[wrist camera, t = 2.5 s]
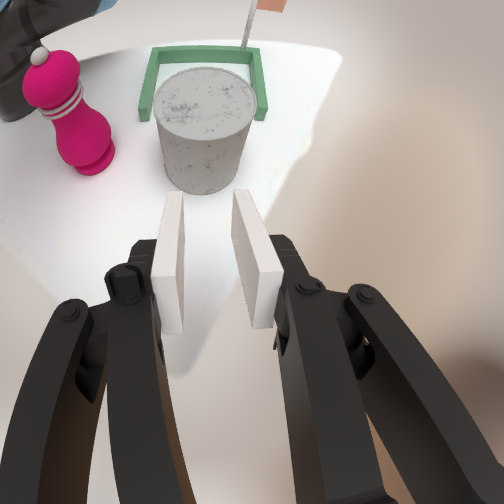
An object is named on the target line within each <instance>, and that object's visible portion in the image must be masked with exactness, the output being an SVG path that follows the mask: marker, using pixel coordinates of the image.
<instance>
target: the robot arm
mask: <svg viewBox="0 0 504 504" xmlns="http://www.w3.org/2000/svg"><path fill="white" fill-rule="evenodd" d="M116 2H117V0H0V117H1V119H2V120H4V121H14V120H17V119H20V118H22V117H24V116H25V115H27V114H29V113H30V112H32V111H33V110H34V109H36V108H37V107H33V106H32V105H30V104H29V103H28V102H27V101H26V99H25V97H24V94H23V90H22V84H23V80H24V76H25V74H26V72H27V71H28V69H29V68H30V66H31V65H32V63H31V55H32V53H33V52H34V51H35V50H36V49H37V48H39V47H44V46H43V45H42V43H41V41H40V39H41V38H43V37H45V36H47V35H49V34H51V33H53V32H55V31H57V30H60V29H62V28H64V27H66V26H69V25H71V24H73V23H75V22H78V21H81V20H83V19H86V18H88V17H91V16H95V15H96V14H97V13H100V12H102V11H105V10H107V9H109V8H111V7H113V6H114V5H115V3H116ZM48 51H49V50H48ZM49 52H50V51H49ZM231 237H232V242H233V246H234V251H235V255H236V260H237V264H238V269H239V273H240V278H241V282H242V286H243V290H244V295H245V299H246V304H247V308H248V312H249V316H250V321H251V325H252V329H264V328H273V323H274V318H275V321H276V324H277V327H278V328H277V333H276V337H275V341H274V346H273V350H276V347H277V350H278V357H279V365H280V372H281V379H282V388H283V395H284V402H285V411H286V419H287V426H288V434H289V443H290V451H291V460H292V467H293V477H294V485H295V494H296V503H297V504H398V503H397V501H396V500H395V499H393V498H392V497H390V496H389V495H387V493H386V492H385V489H384V486H383V482H382V477H381V472H380V468H379V463H378V459H377V455H376V451H375V447H374V443H373V439H372V435H371V431H370V427H369V424H368V420H367V416H366V413H367V415H368V417H369V418H370V420H371V422H372V424H373V425H374V427H375V429H376V431H377V433H378V435H379V436H380V438H381V440H382V442H383V444H384V446H385V447H386V449H387V451H388V453H389V455H390V457H391V458H392V460H393V462H394V464H395V466H396V468H397V470H398V471H399V473H400V475H401V477H402V479H403V481H404V483H405V485H406V487H407V488H408V490H409V492H410V494H411V496H412V498H413V499H414V501H415V503H416V504H504V467H503V466H502V465H501V464H499V463H498V462H497V460H496V458H495V456H494V454H493V453H492V451H491V449H490V447H489V445H488V444H487V442H486V440H485V438H484V437H483V435H482V433H481V432H480V430H479V429H478V427H477V425H476V423H475V422H474V420H473V419H472V417H471V416H470V414H469V412H468V411H467V409H466V408H465V406H464V404H463V403H462V402H461V400H460V398H459V397H458V395H457V394H456V392H455V391H454V390H453V388H452V387H451V385H450V384H449V383H448V381H447V379H446V378H445V376H444V375H443V373H442V372H441V371H440V369H439V368H438V366H437V365H436V364H435V362H434V361H433V360H432V358H431V357H430V356H429V354H428V353H427V352H426V350H425V349H424V347H423V346H422V345H421V343H420V342H419V341H418V339H417V338H416V337H415V336H414V334H413V333H412V332H411V331H410V329H409V328H408V327H407V325H406V324H405V323H404V322H403V320H402V319H401V318H400V316H399V315H398V314H397V313H396V312H395V310H394V309H393V308H392V307H391V305H390V304H389V303H388V302H387V301H386V299H385V298H384V297H383V296H382V295H381V293H380V292H379V291H378V290H376V289H375V288H373V287H371V286H369V285H366V284H355V285H352V286H351V287H350V289H349V290H348V293H341V292H335V291H330V290H326V288H325V286H324V285H323V283H322V282H320V281H319V280H318V279H316V278H314V277H312V276H310V275H309V273H308V271H307V269H306V267H305V265H304V264H303V262H302V260H301V258H300V256H299V254H298V252H297V251H296V250H295V247H294V245H293V243H292V241H291V240H290V239H288V238H287V237H286V236H285V235H268V233H267V230H266V228H265V226H264V224H263V221H262V219H261V217H260V214H259V212H258V210H257V208H256V205H255V203H254V201H253V199H252V196H251V194H250V192H249V190H248V189H234V190H233V208H232V228H231ZM184 245H185V231H184V209H183V190H178V191H168V192H167V197H166V201H165V205H164V210H163V214H162V219H161V223H160V228H159V233H158V238H157V239H151V240H138V241H137V242H136V243H135V245H134V246H133V247H132V249H131V252H130V257H129V259H128V263H123V264H118V265H116V266H115V267H113V268H111V269H110V270H109V271H108V272H107V273H106V275H105V278H104V280H105V283H106V286H107V289H108V293H109V296H110V299H111V300H109V301H108V302H106V303H103V304H100V305H96V306H92V307H88V305H87V304H86V303H85V302H84V301H83V300H80V299H69V300H67V301H64V302H63V303H61V304H60V305H59V306H58V307H57V308H56V310H55V311H54V313H53V315H52V317H51V318H50V321H49V323H48V325H47V327H46V329H45V331H44V333H43V335H42V337H41V340H40V341H39V344H38V346H37V349H36V351H35V353H34V355H33V358H32V360H31V362H30V365H29V368H28V370H27V373H26V375H25V378H24V380H23V383H22V386H21V388H20V391H19V394H18V397H17V400H16V403H15V406H14V410H13V413H12V416H11V420H10V424H9V427H8V431H7V435H6V439H5V443H4V448H3V452H2V458H1V463H0V504H87V493H88V483H89V474H90V466H91V459H92V452H93V446H94V440H95V434H96V429H97V423H98V418H99V413H100V409H101V404H102V400H103V395H104V391H105V386H106V383H107V404H108V422H109V434H110V444H111V453H112V460H113V468H114V474H115V480H116V486H117V491H118V496H119V501H120V504H196V500H195V497H194V494H193V491H192V487H191V484H190V480H189V477H188V473H187V469H186V465H185V462H184V458H183V453H182V450H181V445H180V441H179V436H178V432H177V428H176V423H175V418H174V413H173V408H172V402H171V397H170V391H169V385H168V379H167V372H166V365H165V358H164V351H163V344H162V340H161V328H162V333H163V334H183V278H184ZM365 338H366V339H367V341H368V342H369V343H368V342H367V341H366V340H365ZM365 411H366V412H365Z"/></svg>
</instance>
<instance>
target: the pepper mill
mask: <svg viewBox="0 0 504 504" xmlns="http://www.w3.org/2000/svg"><path fill="white" fill-rule="evenodd" d="M31 63H32V65H31V66H30V68H29V69H28V71H27V72H26V74H25V76H24V80H23V84H22V90H23V94H24V97H25V99H26V101H27V102H28V103H29V104H30V105H32V106H33V107H38V108H39V111H40V112H41V113H42V115H43V117H44V118H46V119H49V120H51V121H52V122H53V124H54V126H55V129H56V142H57V148H58V151H59V154H60V155H61V157H62V158H63V160H64V161H65V162H66V163H68V164H69V165H72V166H74V167H75V169H76V170H77V171H78V172H79V173H81V174H83V175H94V174H97V173H99V172H101V171H102V170H104V169H105V168H106V167H107V166H108V165H109V164H110V162H111V161H112V159H113V156H114V152H115V147H114V144H113V141H112V139H111V128H110V125H109V124H108V122H107V120H106V118H105V117H104V116H103V115H102V114H100V113H99V112H97V111H96V110H94V109H92V108H91V107H89V106H88V105H87V104H86V103H85V101H84V100H83V98H82V96H83V87H82V85H81V82H80V80H79V79H78V78H79V74H80V67H79V63H78V61H77V59H76V58H75V57H74V55H72V54H71V53H70V52H67V51H64V50H57V51H52V52H49V51H48V49H46V48H45V47H39V48H37V49H36V50H35V51H34V52H33V53H32V55H31Z"/></svg>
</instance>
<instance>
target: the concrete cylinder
mask: <svg viewBox="0 0 504 504" xmlns="http://www.w3.org/2000/svg"><path fill="white" fill-rule="evenodd" d="M256 108H257V100H256V95H255V93H254V91H253V88H252V87H251V86H250V85H249V84H248V82H247V81H245V80H244V79H243V78H242V77H240V76H239V75H237V74H235V73H233V72H231V71H228V70H225V69H222V68H215V67H196V68H190V69H187V70H184V71H181V72H178V73H177V74H175V75H173V76H171V77H170V78H168V79H167V80H166V81H164V82H163V84H162V85H161V86H160V87H159V88H158V90H157V92H156V94H155V96H154V100H153V111H154V116H155V118H156V122H157V127H158V133H159V138H160V143H161V148H162V153H163V158H164V162H165V165H164V166H165V170H166V174H167V176H168V178H169V180H170V181H171V182H172V183H173V184H174V186H176V187H177V188H179V189H180V190H183V191H184V192H187V193H189V194H195V195H207V194H211V193H215V192H217V191H219V190H222V189H223V188H225V187H226V186H227V185H228V184H229V183H230V182H231V181H232V180H233V179H234V177H235V175H236V173H237V170H238V164H239V161H240V157H241V154H242V151H243V148H244V144H245V141H246V138H247V135H248V132H249V128H250V125H251V122H252V119H253V117H254V115H255V113H256Z"/></svg>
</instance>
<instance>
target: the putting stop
mask: <svg viewBox="0 0 504 504" xmlns="http://www.w3.org/2000/svg"><path fill="white" fill-rule="evenodd" d="M285 3H286V0H252V4H251V8H250V11H249V15H248V20H247V24H246V28H245V32H244V36H243V41H242V45H241V47H235V46H205V45H198V46H168V47H155V48H152V52H151V55H150V59H149V63H148V66H147V70H146V74H145V79H144V83H143V87H142V92H141V96H140V101H139V106H138V111H139V115H140V119H141V122H144V121H149V120H150V113H151V107H152V101H153V96H154V90H155V85H156V80H157V75H158V70H159V65H160V64H163V63H183V62H221V63H241V64H249V66H250V75H251V85H252V88H253V91H254V93H255V95H256V100H257V108H256V113H255V120H260V121H263V120H264V118H265V115H266V112H267V110H268V104H267V97H266V90H265V83H264V76H263V69H262V63H261V56H260V50H259V48H249V47H246V46H247V42H248V38H249V34H250V30H251V25H252V22H253V18H254V14H255V11H256V9H262V10H269V11H277V12H283V9H284V6H285Z"/></svg>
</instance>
